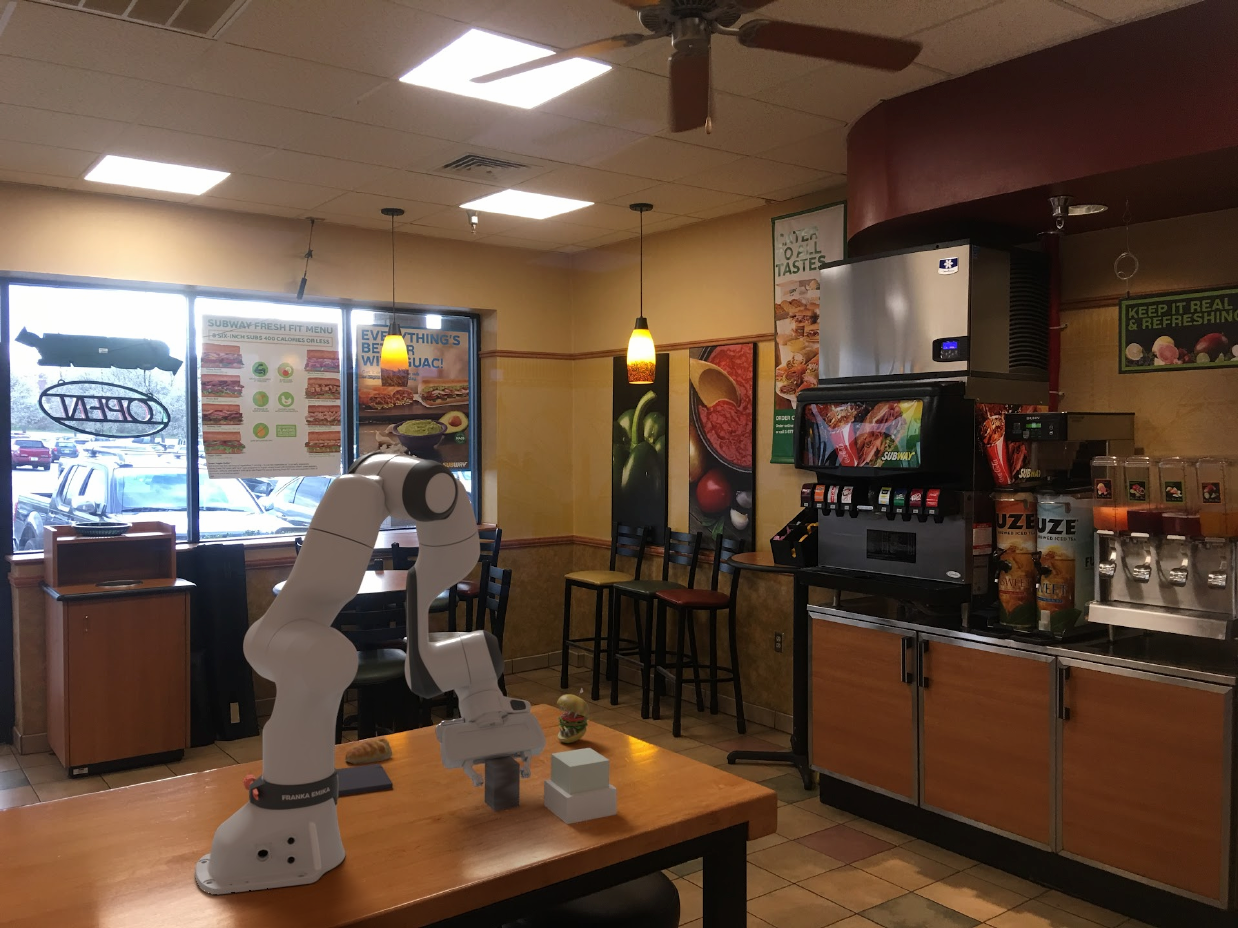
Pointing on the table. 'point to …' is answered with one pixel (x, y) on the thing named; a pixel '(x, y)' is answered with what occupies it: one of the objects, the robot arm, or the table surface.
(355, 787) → the notebook
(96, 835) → the table surface
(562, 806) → the tower base
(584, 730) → the hamburger
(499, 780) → the charcoal block
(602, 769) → the tower top
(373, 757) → the pastry
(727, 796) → the table surface
